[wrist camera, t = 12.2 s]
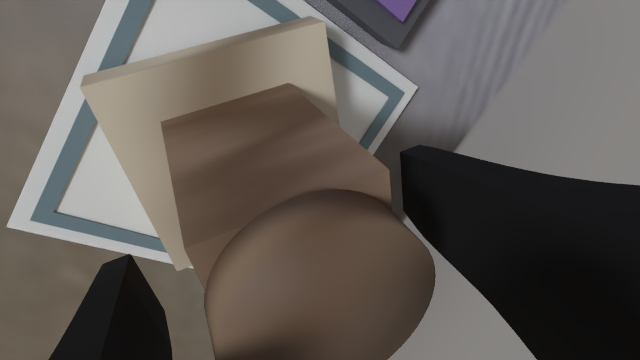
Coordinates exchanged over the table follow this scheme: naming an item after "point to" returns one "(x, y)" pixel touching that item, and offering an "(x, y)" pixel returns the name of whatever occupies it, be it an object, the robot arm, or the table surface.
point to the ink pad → (383, 17)
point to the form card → (153, 40)
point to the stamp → (267, 196)
